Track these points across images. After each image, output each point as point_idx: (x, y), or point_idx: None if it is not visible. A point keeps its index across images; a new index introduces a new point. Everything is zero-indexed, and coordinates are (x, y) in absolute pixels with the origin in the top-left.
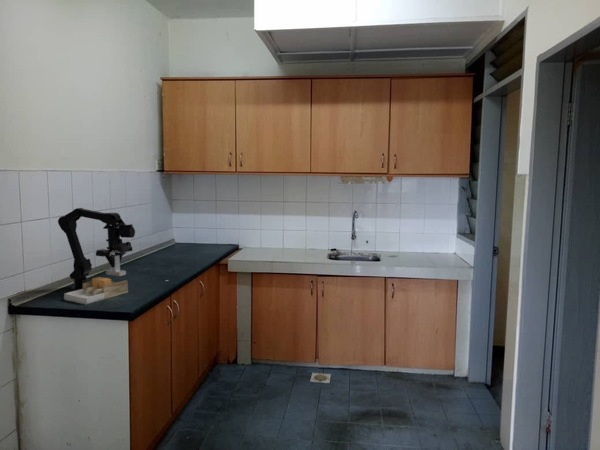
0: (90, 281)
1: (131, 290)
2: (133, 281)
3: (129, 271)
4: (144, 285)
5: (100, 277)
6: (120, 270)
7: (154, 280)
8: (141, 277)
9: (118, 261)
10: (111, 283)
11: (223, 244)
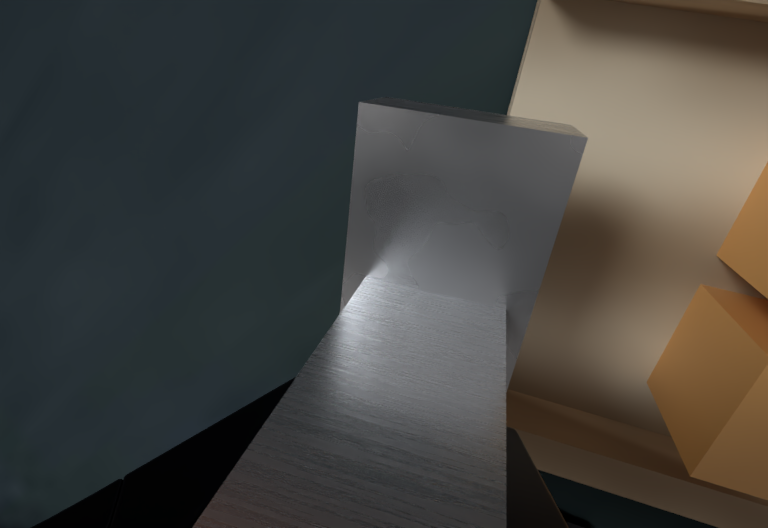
0: (737, 510)
1: (432, 5)
2: (154, 252)
3: (15, 436)
4: (191, 20)
5: (737, 439)
6: (375, 259)
7: (13, 67)
8: (40, 266)
9: (301, 476)
10: (552, 263)
11: None
